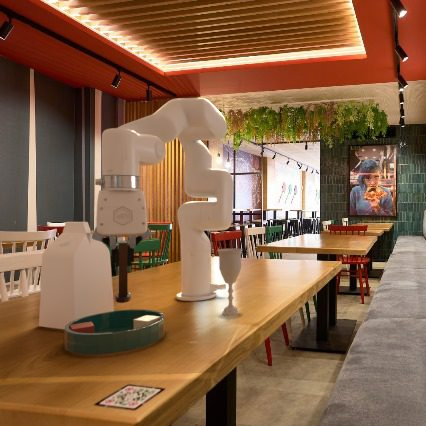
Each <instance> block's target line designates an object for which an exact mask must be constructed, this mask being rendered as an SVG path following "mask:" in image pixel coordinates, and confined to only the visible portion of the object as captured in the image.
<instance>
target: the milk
mask: <svg viewBox="0 0 426 426" xmlns="http://www.w3.org/2000/svg"><path fill="white" fill-rule="evenodd" d="M92 235H93V232H92V231H91V228H90V225H89V222H88V221H66V222H65V223H64V226H63V229H62V233H61V234H59V235H58V236H57V237H56V238H55V239H54V240H53V241H52V242H51V243H50V244H49V245H48V246H47V247H46V248H45V250H44V251H43V253H42V256H41V270H40V271H41V273H40V291H39V292H40V294H39V296H40V297H39V313H38V314H39V318H38V319H39V320H38V327H44V328H51V329H57V330H64V328H65V326H66V325H67V324H68V323H69V322H71V321H74V320H76V319H79V318H82V317H85V316H89V315H93V314H98V313H104V312H109V311H115V305H114V302H115V301H114V292H113V275H112V261H111V252H110V249H109V247H108V246H107V245H106V244H105V243H104V242H100V241H97V240H94V239H92Z"/></svg>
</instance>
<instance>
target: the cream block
mask: <svg viewBox="0 0 426 426" xmlns="http://www.w3.org/2000/svg"><path fill="white" fill-rule="evenodd" d="M160 318H161V317H160V316H150V315H146V316H143V317H140V318H137V319H134V329H136V328H140V327H143V326H147V325H149V324H152V323H154V322H156V321H158V320H159V319H160Z"/></svg>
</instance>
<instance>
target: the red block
mask: <svg viewBox="0 0 426 426" xmlns="http://www.w3.org/2000/svg"><path fill="white" fill-rule="evenodd" d="M70 330H71V331H74V332H78V333H94V325H93V323H92V322H86V323H79V324H73V325H70Z"/></svg>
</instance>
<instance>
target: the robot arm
mask: <svg viewBox="0 0 426 426" xmlns="http://www.w3.org/2000/svg"><path fill="white" fill-rule="evenodd" d="M227 133H228V124H227V121H226V119H225V116H224V115H223V114H222V112H220V111H219V109H218V108H217V107H216V106H215V105H214V104H213V103H212V102H211V101H210V100H208V99H206V98H205V97H187V98H186V97H184V98H182V97H181V98H173V99H171V100H168V101H167V102H166V103H165V104H163V105H162V106H161V107H160V108H159V109H156V111H155V112H154V113H152V114H150V115H147V116H144V117H141V118H139V119H135V120H132V121H130V122H127V123H124V124H122V125H119V126H118V127H113V128H107V129H104V130H103V132H102V133H101V134H102V135H101V163H102V165H101V167H102V168H101V169H102V170H101V171H102V172H101V173H102V177H100V178H95V179H94V185H95V186H99V187H102V190H98V194H97V201H96V217H95V218H96V219H95V222H96V225H95V228H94V230H93V232H92V234H93V235H92V239H94V240H97V241H100V242H102V243H103V244H104V245H105V246H106V247H107V248H110V251H111V252H110V261H111V264H114V267H115V268H118V266H119V250H118V244H117V236H128V258H127V266H128V267H132V263H134V262H135V248H136V247H137V246H138V245H139V244H140V243H141V242H142V241H144V240H147V239H149V238H151V237H152V233H151V230H150V228H149V226H148V212H147V211H148V209H147V201H146V200H147V199H146V196H145V192H144V190H141V177H140V176H141V175H140V172H141V171H140V167H143V166H144V167H145V166H146V167H147V166H156V165H159V164H161V163H162V162H163V161H164V159H165V157H166V154H167V152H166V151H167V150H166V145H165V144H169V143H171V142H173V141H175V140H176V139H177V140H178V141H179V143H180V146H181V148H182V149H183V152H184V158H185V162H184V180H183V182H184V183H183V189H184V193H185V195H186V196H187V197H190V198H196V199H216V200H215V201H206V200H205V201H203V200H201V201H200V200H199V201H187V202H184V203H182V204H181V205H180V206H179V207H178V209H177V214H176V215H177V218H176V219H177V222H178V228H179V235H180V236H179V237H180V292H178V293H177V294H176V295H175V298H176V300H178V301H183V302H199V301H207V300H211V299H213V298H216V296H217V291H218V290H220V291H221V290H226V289H227V286H226V285H227V283H214V282H212V243H211V240H210V238H209V237H208V235H207V233H205V232H206V231H226V230H228V229H230V227H231V225H232V222H233V212H234V211H233V208H234V207H233V204H234V181H233V175H232V174H231V172H230V171H228V170H227V169H223V168H212V164H213V163H212V162H213V161H212V160H213V156H212V153H211V152H210V150H209V149H208V147H207V146H206V145H205V143H203V141H220V140H224V138H225V137H226V136H227ZM108 237H109V238H108Z"/></svg>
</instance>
